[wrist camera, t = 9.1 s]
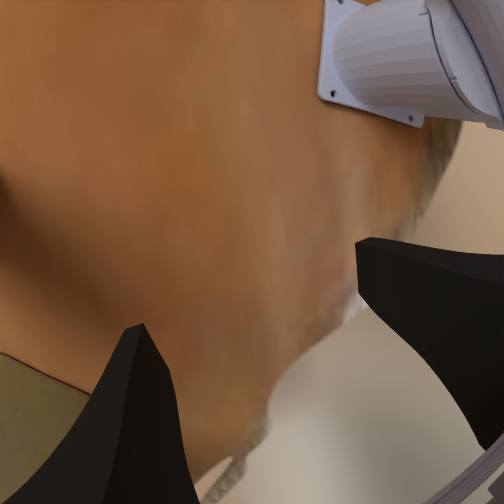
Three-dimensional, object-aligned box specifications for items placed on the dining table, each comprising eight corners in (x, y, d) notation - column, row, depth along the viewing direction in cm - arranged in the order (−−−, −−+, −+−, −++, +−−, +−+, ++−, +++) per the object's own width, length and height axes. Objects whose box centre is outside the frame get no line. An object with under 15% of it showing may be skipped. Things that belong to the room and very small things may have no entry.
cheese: (53, 485, 24) (57, 585, 11) (-16, 457, 20) (-27, 556, 6) (100, 394, 21) (108, 573, 8) (-8, 342, 16) (-64, 513, 3)
